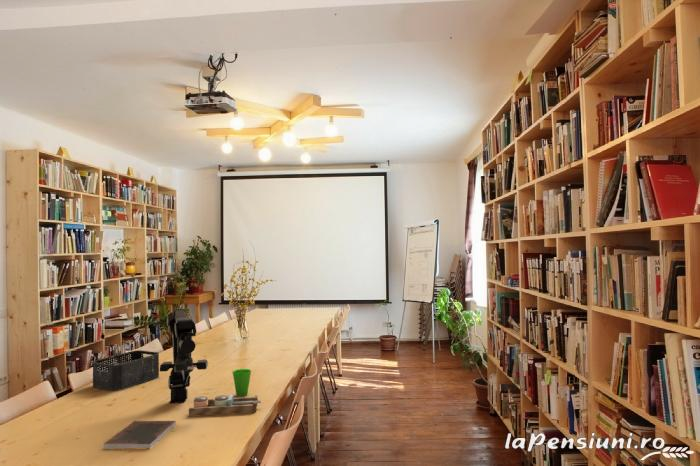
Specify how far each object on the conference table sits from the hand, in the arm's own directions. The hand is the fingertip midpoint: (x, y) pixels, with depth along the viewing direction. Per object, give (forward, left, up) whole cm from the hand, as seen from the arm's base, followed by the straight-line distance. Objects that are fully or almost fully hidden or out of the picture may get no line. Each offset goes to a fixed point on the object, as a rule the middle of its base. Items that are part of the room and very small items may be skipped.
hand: (184, 385), depth 192 cm
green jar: (+16, 0, -11) cm, 19 cm away
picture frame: (-10, -24, -12) cm, 29 cm away
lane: (+17, 0, -11) cm, 20 cm away
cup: (+22, +20, -11) cm, 32 cm away
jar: (+7, 0, -11) cm, 13 cm away
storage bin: (-40, +53, -11) cm, 67 cm away
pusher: (+25, 0, -11) cm, 28 cm away
